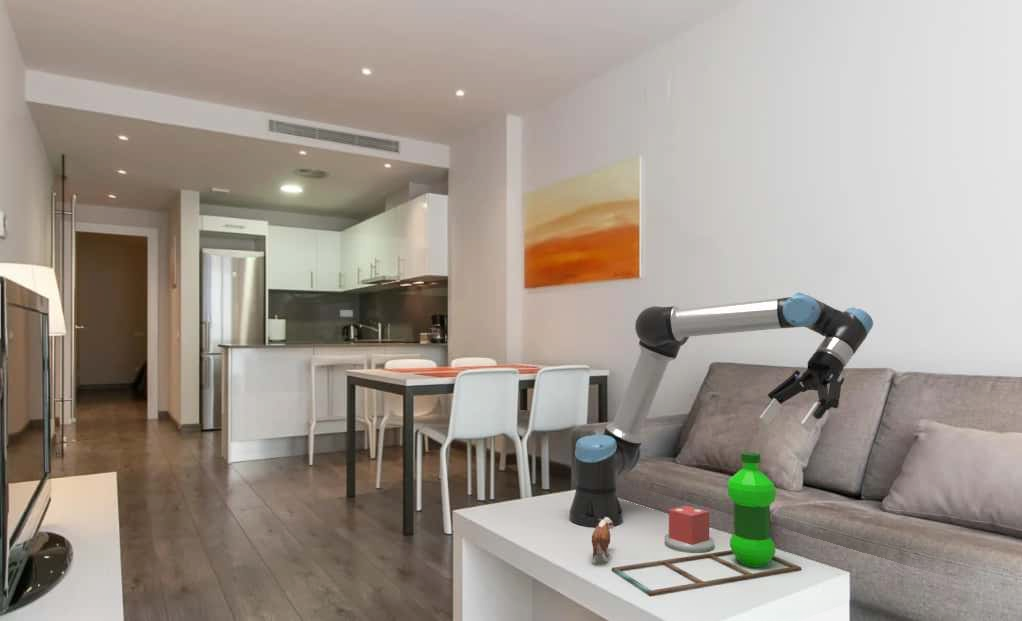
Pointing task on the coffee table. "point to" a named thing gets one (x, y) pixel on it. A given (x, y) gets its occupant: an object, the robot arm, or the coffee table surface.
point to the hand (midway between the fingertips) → (783, 424)
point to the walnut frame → (697, 581)
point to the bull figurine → (601, 538)
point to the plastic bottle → (751, 513)
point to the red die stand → (689, 530)
